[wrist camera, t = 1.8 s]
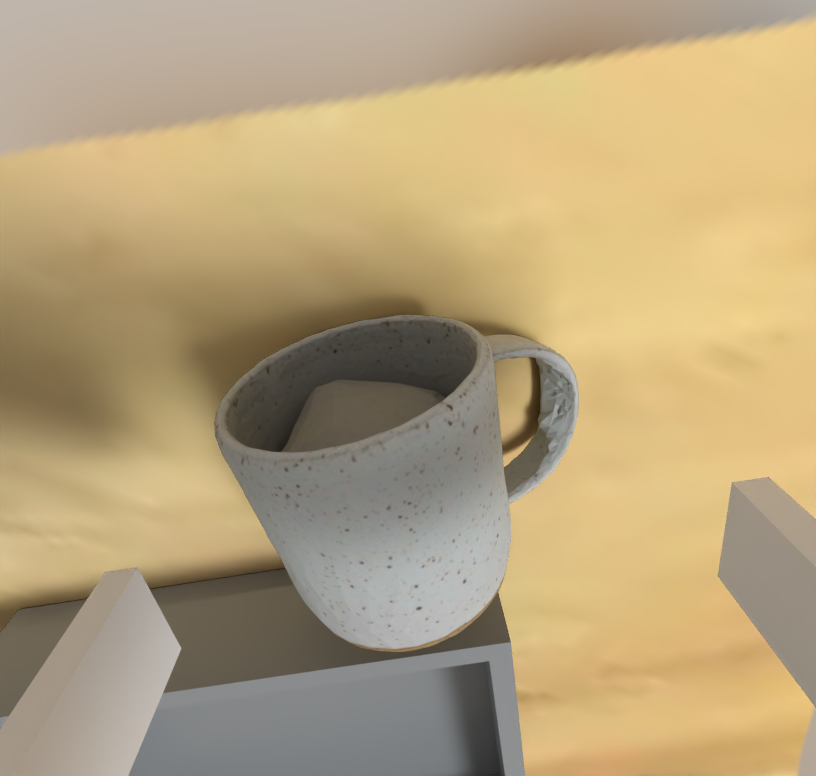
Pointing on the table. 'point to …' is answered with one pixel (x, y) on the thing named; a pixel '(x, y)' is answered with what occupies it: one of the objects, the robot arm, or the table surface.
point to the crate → (301, 689)
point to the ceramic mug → (391, 470)
